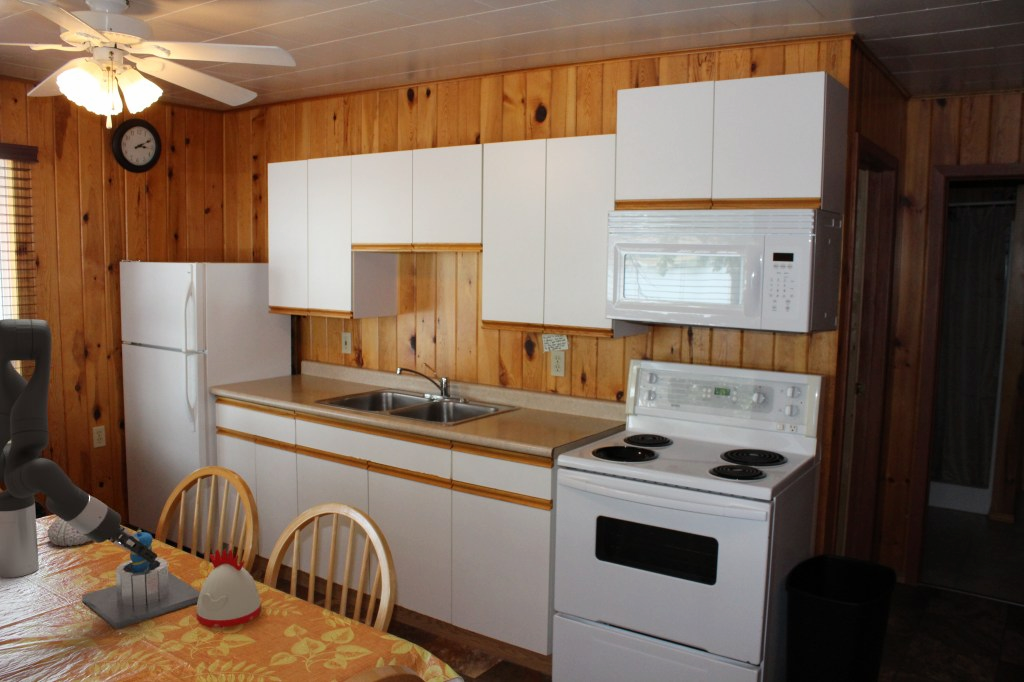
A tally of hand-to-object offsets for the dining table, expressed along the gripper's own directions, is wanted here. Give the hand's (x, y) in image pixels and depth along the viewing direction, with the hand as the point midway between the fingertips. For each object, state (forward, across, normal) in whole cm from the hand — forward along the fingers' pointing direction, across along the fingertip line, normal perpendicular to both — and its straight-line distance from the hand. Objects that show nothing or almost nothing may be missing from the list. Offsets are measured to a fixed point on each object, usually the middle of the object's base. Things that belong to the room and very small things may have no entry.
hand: (148, 555), depth 192 cm
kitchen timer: (+14, -20, +1) cm, 25 cm away
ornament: (+4, 0, +7) cm, 8 cm away
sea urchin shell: (+9, +53, +7) cm, 54 cm away
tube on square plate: (+6, 0, +9) cm, 11 cm away
